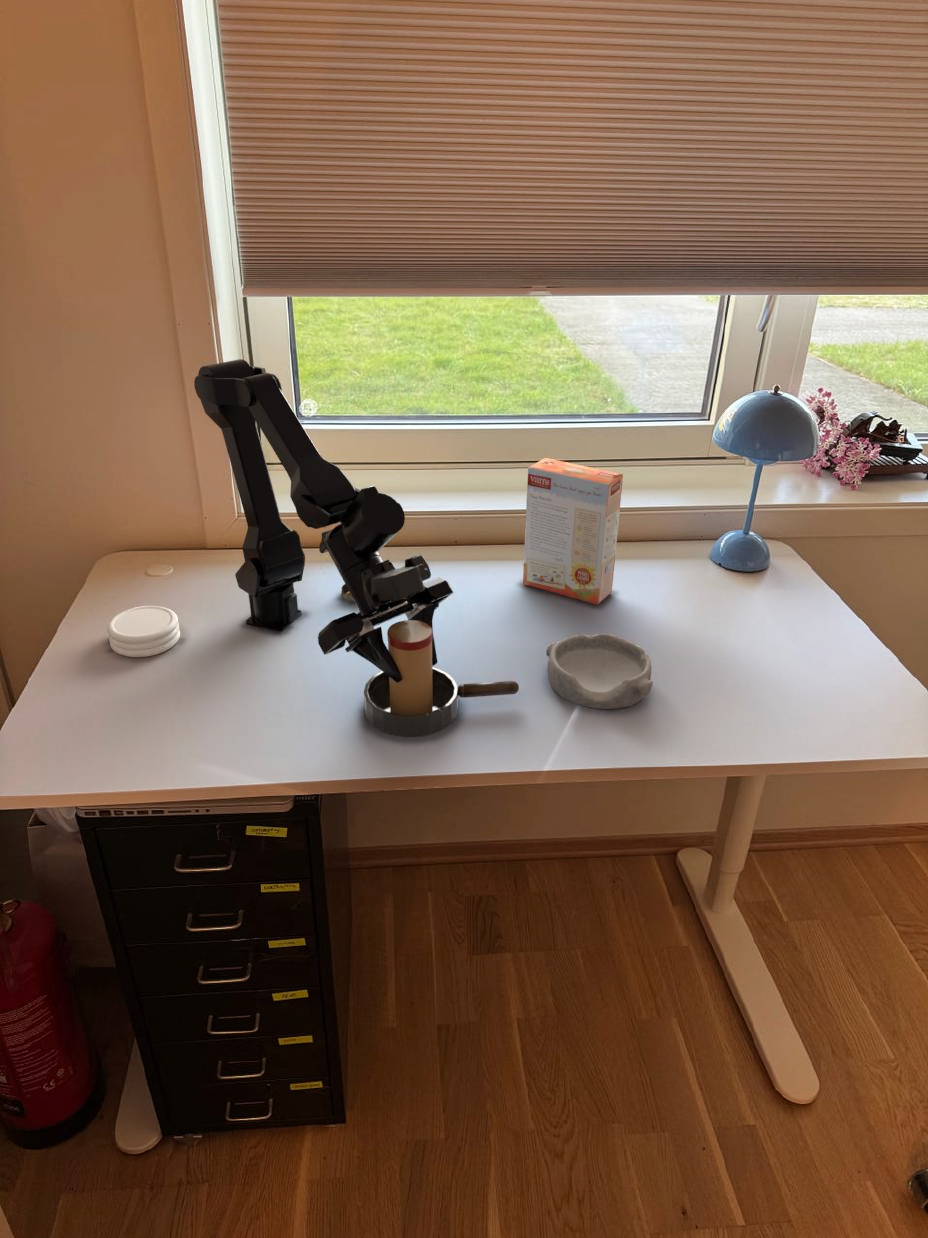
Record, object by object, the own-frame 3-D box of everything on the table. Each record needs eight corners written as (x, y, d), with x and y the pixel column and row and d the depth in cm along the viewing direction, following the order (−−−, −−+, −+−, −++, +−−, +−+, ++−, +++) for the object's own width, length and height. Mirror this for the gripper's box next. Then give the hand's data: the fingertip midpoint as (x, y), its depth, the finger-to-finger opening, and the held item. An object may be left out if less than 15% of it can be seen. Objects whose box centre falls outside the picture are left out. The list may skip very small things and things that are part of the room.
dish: (661, 710, 124) (666, 679, 122) (561, 719, 122) (563, 687, 120) (627, 653, 137) (631, 624, 134) (536, 660, 135) (537, 631, 132)
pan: (349, 726, 120) (347, 703, 119) (390, 678, 130) (389, 657, 128) (435, 749, 117) (435, 726, 115) (471, 698, 126) (471, 676, 125)
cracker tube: (382, 715, 122) (379, 637, 116) (401, 693, 126) (399, 616, 120) (422, 725, 120) (421, 646, 114) (439, 702, 125) (439, 625, 119)
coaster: (132, 621, 143) (128, 601, 142) (192, 628, 142) (189, 608, 140) (97, 654, 135) (92, 633, 133) (160, 662, 133) (157, 641, 131)
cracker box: (613, 592, 153) (625, 472, 143) (597, 607, 149) (609, 484, 138) (538, 571, 160) (545, 454, 149) (521, 584, 155) (526, 466, 145)
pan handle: (457, 701, 122) (457, 689, 122) (455, 693, 124) (455, 682, 123) (519, 696, 123) (520, 685, 123) (517, 688, 125) (517, 677, 124)
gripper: (325, 563, 109) (387, 681, 107) (444, 520, 120) (501, 626, 118) (292, 598, 117) (349, 707, 116) (406, 555, 129) (459, 654, 127)
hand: (417, 672), depth 119 cm, fingers closed on cracker tube, 5 cm apart
